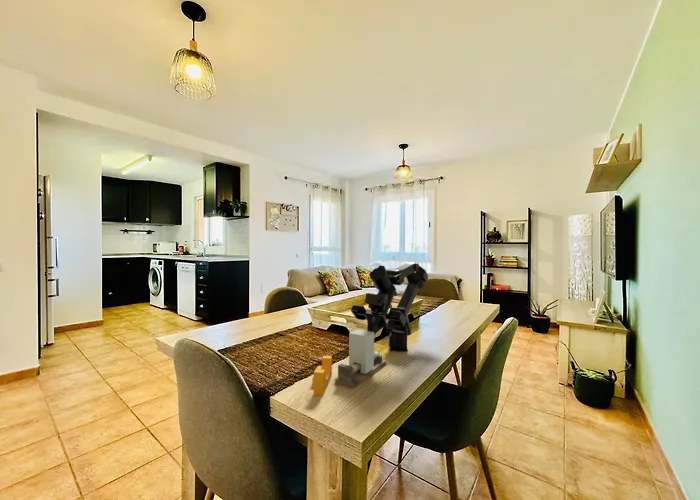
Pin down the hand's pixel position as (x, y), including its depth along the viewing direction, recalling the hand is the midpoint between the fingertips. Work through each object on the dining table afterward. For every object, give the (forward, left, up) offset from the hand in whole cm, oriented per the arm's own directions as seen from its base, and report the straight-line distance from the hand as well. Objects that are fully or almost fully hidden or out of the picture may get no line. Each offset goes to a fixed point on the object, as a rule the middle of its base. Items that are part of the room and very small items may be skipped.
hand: (368, 337), depth 97 cm
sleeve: (+2, +4, -9) cm, 10 cm away
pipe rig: (+2, +3, -10) cm, 11 cm away
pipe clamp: (+14, +12, -11) cm, 21 cm away
